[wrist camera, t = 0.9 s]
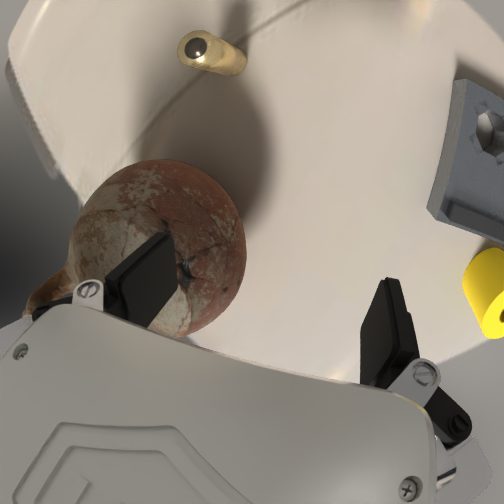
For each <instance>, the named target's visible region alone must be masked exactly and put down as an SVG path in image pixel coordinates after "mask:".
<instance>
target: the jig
mask: <svg viewBox="0 0 504 504" xmlns="http://www.w3.org/2000/svg"><path fill="white" fill-rule="evenodd" d="M483 113H485V114H487V115H488V117H489V119H490V122H491V124H492V127H493V129H494V132H493V138H492V143H491V145H490V146H488V147H487V148H485V149H484V150H482V147H481V145H480V142H479V140H478V138H477V135H476V128H477V122H478V116H479V115H481V114H483ZM427 210H428V211H429V212H430V213H431V215H432V216H433V217H434V218H435V220H438V221H441V222H444V223H446V224H449V225H452V226H455V227H458V228H461V229H464V230H466V231H469V232H472V233H474V234H477V235H480V236H482V237H485V238H487V239H490V240H493V241H495V242H497V243H500V244H502V245H504V100H503V99H502V98H500V97H498V96H497V95H495V94H494V93H492V92H490V91H489V90H487V89H485V88H483V87H482V86H480V85H478V84H476V83H474V82H472V81H471V80H469V79H467V78H466V79H460V80H454V81H453V89H452V97H451V105H450V112H449V118H448V124H447V130H446V135H445V140H444V145H443V149H442V154H441V158H440V162H439V166H438V170H437V174H436V178H435V181H434V185H433V188H432V192H431V195H430V198H429V202H428V205H427Z"/></svg>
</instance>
